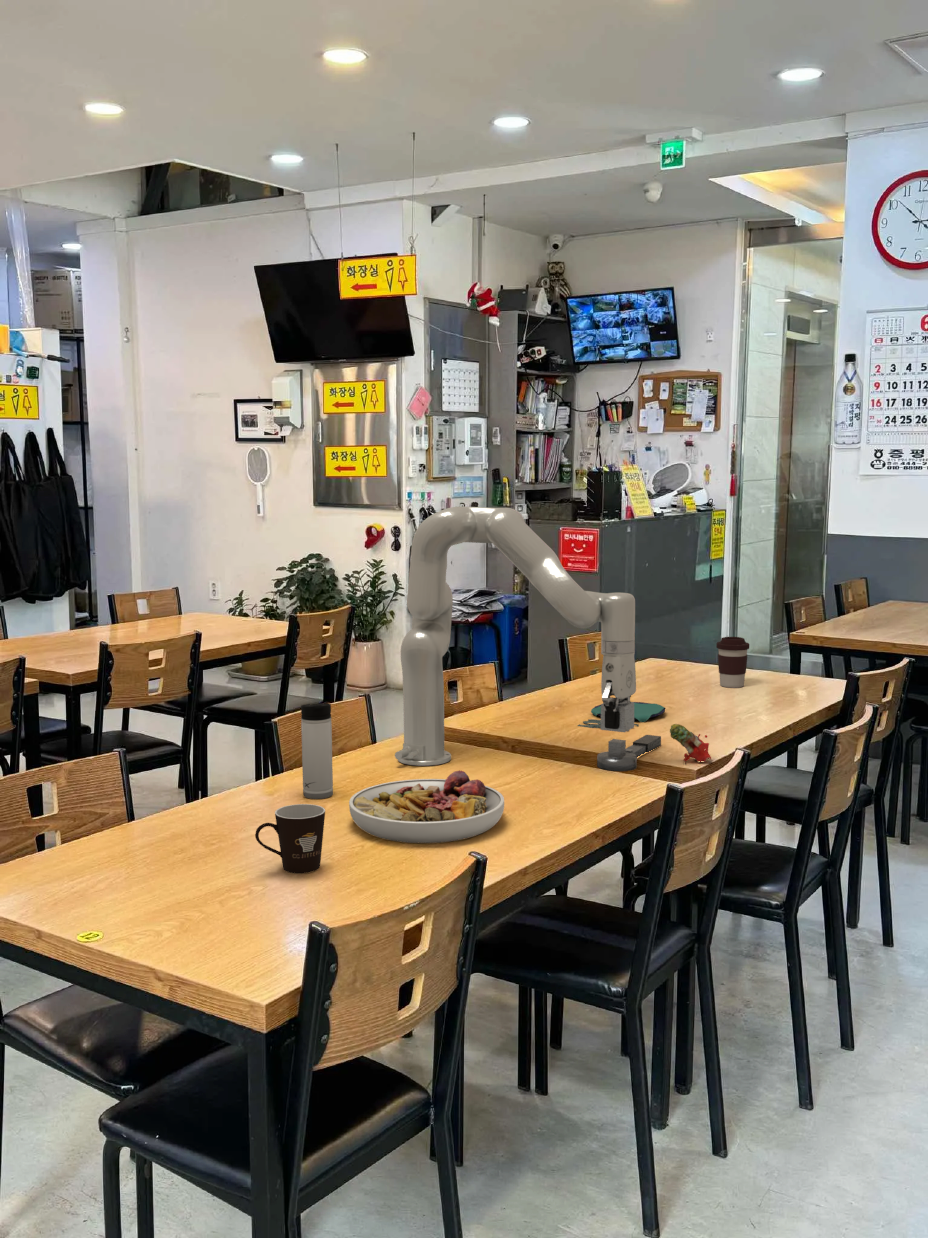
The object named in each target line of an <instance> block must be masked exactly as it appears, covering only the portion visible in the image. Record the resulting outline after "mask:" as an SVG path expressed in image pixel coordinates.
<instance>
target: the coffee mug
mask: <svg viewBox="0 0 928 1238" xmlns="http://www.w3.org/2000/svg"><path fill="white" fill-rule="evenodd" d="M274 816H275V823H276V824H275V823H272V822H265V823H263V824H260V825H259V826H258V827H257V828H256V830H255V834H254V835H255V840H256V842H257V843H258V844H259V845H260V846H261V847H263V848H264V849H265V850H267V851H270V852H271V853H274V854H276V855H277V856H279V857H280V858H281V863H282V870H284V871H285V872H287V873H290V874H299V875H300V874H309V873H312V872H315V871H318V870H319V869H320V868H321V859H322V851H323V850H322V849H323V841H324V840H323V839H324V830H325V829H324V827H325V817H326V809H325V808H324V806H321V805H318V804H310V803H300V804H299V803H297V804H290V805H289V804H288V805H284V806H282V807H281V806H280V807H279V808H277V809H275V811H274ZM266 827H271V828H272V829H274V831H275V833H277V836H278V842H279V844H278V845H279V850H280V851H279V850H277V849H275V848H272V847H271V846H268V845H266V844H264V842H263V841H262V840H261V839H260V837H259V834H260V832H261V831H262V829H264V828H266Z"/></svg>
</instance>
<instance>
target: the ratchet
mask: <svg viewBox="0 0 928 1238" xmlns="http://www.w3.org/2000/svg"><path fill="white" fill-rule="evenodd" d="M626 741H627V740H626V739H618V738H612V739H610V740H609V741H608V744H607V745H608V749H607V751H603V752H602V751H601V752H600V753H597V756H596V760H597V761H596V768H598V769H600V770H603V771H608V772H620V773H621V772H628V771H634V770H636V769H637V767H638V763H637V762H638V759H637V757H638V756H640V755H641V754H644V753H645V752H649V751H651V750H653V749H655V748H656V749H657V747H658V748H659V746H660V747H661V746H662V736H660V735H652V734H645V735H643V736H641V737H639V738H638V739H636V740H634V741H633V742H632V744H631V745H630V746H628V747H627V746H626V744H627V743H626ZM656 749H655V750H656ZM653 751H654V750H653ZM651 752H652V751H651Z"/></svg>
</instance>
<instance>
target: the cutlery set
mask: <svg viewBox="0 0 928 1238" xmlns="http://www.w3.org/2000/svg"><path fill="white" fill-rule="evenodd" d="M633 702H634V720H638V722H640V723H645V722H647V721H648V720H649V719H650V718H654V717H657V716H660V715H663V714H664V713H666V707H665V706H663V705H661V704H658V703H650V702H642V701H641V702H640V701H633ZM590 713H591V714H592V715H593V716H596V717H597V718H598V717H601V704H598V705H595V706H594V707H592V709H591V710H590ZM582 723H583V724H578V725H577V726H576V727H581V728H582V727H583V728H589V729H601V719H592V718H590V719H587V720H583V721H582ZM634 726H636V727H639V726H640V725H639V723H634ZM629 731H630V730H628V731H627V732H629Z"/></svg>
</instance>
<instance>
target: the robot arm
mask: <svg viewBox="0 0 928 1238" xmlns="http://www.w3.org/2000/svg"><path fill="white" fill-rule="evenodd" d="M463 543H475V544H476V543H477V544H492V545H494V546H495V548H496V549H498V551H500V553H502V554H503V555H504V556H505V557H506V558H507V560H509V562H511V563H512V565H514V567H516V569H518V570H519V572H521V573H522V574H523V576H525V578H527V580H528V581H529V582H530V584H532V586H533V587H534V588H535V589H537V590H538V592H539V593H540V594H541V595H542V597H544V599H545V600H546V601H547V602H548V603H549V604H550V606H552V607H553V608H554V610H556V611H557V612H558V613H559V615H560V616H562V617H563V618H564V619H565V621H567V622H568V624H570V625H571V626H573V627H575V628H577V629H588V628H590V627H592V626H594V625H595V624H596V623H598V622H599V623H600V624H601V629H600V631H601V636H600V638H601V641H600V643H601V646H600V650H601V652H600V654H601V655H603V656H602V664H601V665H602V667H601V680H600V681H601V682H600V683H601V684H600V689H601V702H602V704H604V711H605V728H609V729H618V728H619V712H617V709H618V702H619V700H622V699H625V700H627V701H629V702H631V697H632V696H633V695H634V694H636V692H637V676H636V675H637V674H636V661H635V654H636V653H635V652H636V651H635V650H636V644H635V643H636V642H635V641H636V640H635V639H636V638H635V637H636V635H635V634H636V599H635V597H634V595H633V594H632V593H627V592H608V593H606V592H597V591H591V590H585V589H583V588H582V586H580V585H579V584H578V583H577V582H576V581H575V580H574V579H573V577H572V576H571V575H570V574H569V573H568V571H567V570H566V569H565V567H563V565H562V563H561V561H560V559H559V557H558V555H557V554H556V552H555V551H554V550H553V549H552V547H550V546H549V545H548V544H547V543H546V542H545V541H544V540H543V539H542V538H541V537H540V536H539V535H538V534H537V533H536V532H535V531H534V530H533V529H532V528H531V527H530V526H529V524H527V523H526V522H525V519H524V517H523V515H522V514H521V513H520V512H519V511H518V510H516V509H514V508H511V507H484V506H483V507H480V506H478V507H477V506H460V505H459V506H451V507H448V508H444V509H441V510H439V511H437V512H435V513H433V514H431V515H429V516H428V517H427V518H425V519H424V520H423V521H422V522H420V524H419V526H418V527H417V529H416V531H415V533H414V535H413V539H412V543H411V548H410V549H411V550H410V564H409V571H408V572H409V574H408V587H407V594H406V606H407V609H408V612H409V614H410V615H411V616H412V621H411V624H412V625H411V629H410V630H409V631H408V632H407V633H406V634H405V636H404V637H403V639H402V642H401V645H400V662H401V673H402V674H401V675H402V695H403V697H402V698H403V700H402V701H403V703H402V704H403V705H402V706H403V707H402V708H403V744H402V749H401V750H397V751H396V752H395V753H394V758H395V759H396V760H397V761H398V762H399V763H401V764H404V765H408V766H417V767H418V766H420V767H422V766H423V767H424V766H426V767H427V766H437V765H442V764H445V763H448V762H450V761H451V759H452V754H451V753H450V752H449V751H447V750H445V690H444V689H445V688H444V669H443V657H444V656H445V655H446V653H447V652H448V650H449V647H450V642H451V635H452V634H451V632H452V630H451V629H452V618H453V605H454V604H453V601H454V599H453V592H452V589H451V586H450V585H449V584H448V583H447V581H446V580H447V568H448V554H449V553H448V552H449V549H450V548H451V547H452V546H453V547H454V546H456V545H459V544H463ZM612 696H614V697H612ZM612 701H614V705H613V702H612Z"/></svg>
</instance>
